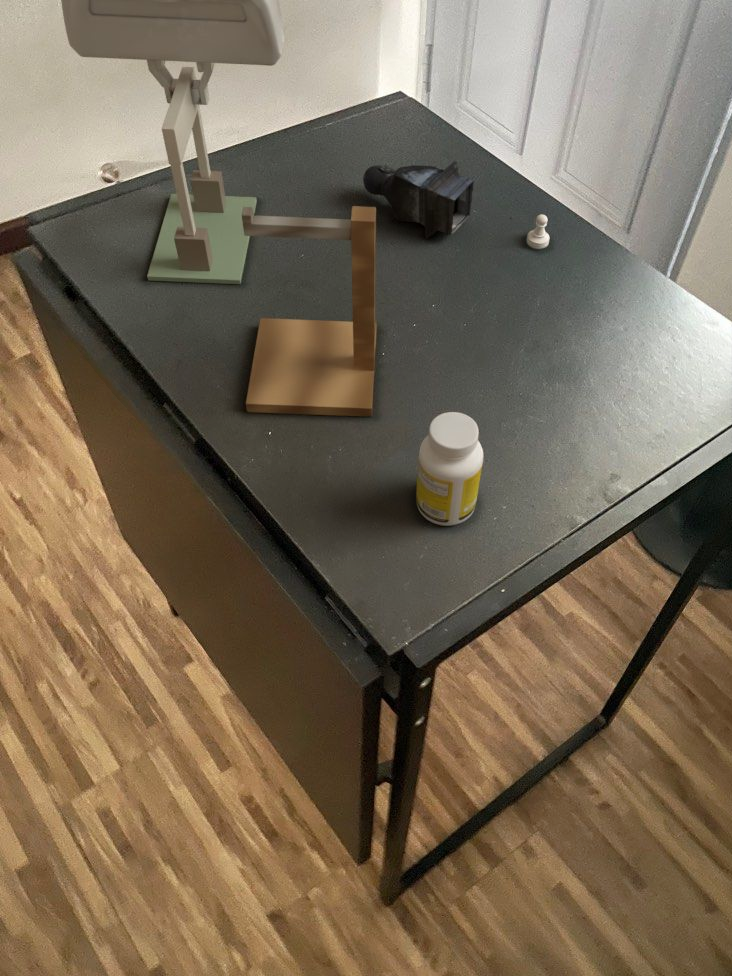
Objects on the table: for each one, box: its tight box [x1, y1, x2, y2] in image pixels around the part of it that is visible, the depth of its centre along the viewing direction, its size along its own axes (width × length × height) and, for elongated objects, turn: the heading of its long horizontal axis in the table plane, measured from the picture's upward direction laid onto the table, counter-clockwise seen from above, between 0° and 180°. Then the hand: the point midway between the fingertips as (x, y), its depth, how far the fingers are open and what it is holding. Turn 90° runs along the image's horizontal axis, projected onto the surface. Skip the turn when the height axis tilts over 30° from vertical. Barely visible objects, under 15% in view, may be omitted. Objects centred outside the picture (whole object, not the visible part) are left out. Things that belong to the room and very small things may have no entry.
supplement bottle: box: [415, 411, 484, 527], centre depth 71 cm, size 5×5×10 cm
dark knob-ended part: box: [362, 160, 475, 239], centre depth 96 cm, size 6×13×6 cm, turn 60°
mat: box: [146, 193, 258, 285], centre depth 94 cm, size 10×15×1 cm, turn 179°
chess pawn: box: [526, 213, 550, 250], centre depth 95 cm, size 3×3×4 cm
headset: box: [161, 66, 226, 271], centre depth 87 cm, size 3×12×16 cm, turn 179°
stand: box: [242, 205, 378, 418], centre depth 76 cm, size 12×12×18 cm
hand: (188, 101), depth 85 cm, fingers closed on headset
